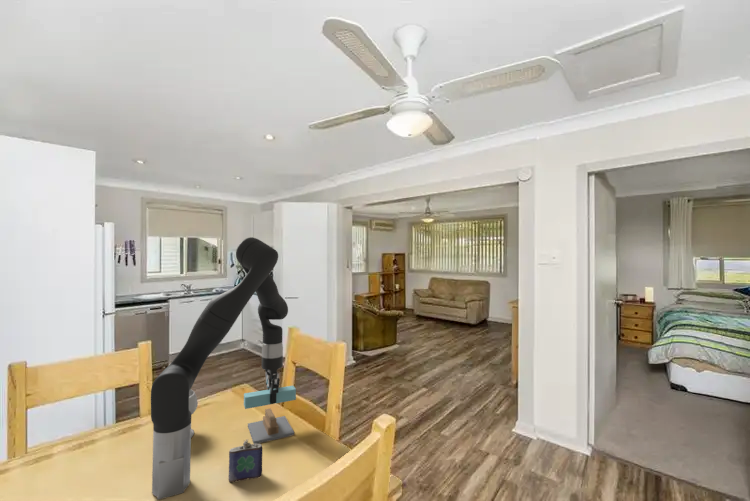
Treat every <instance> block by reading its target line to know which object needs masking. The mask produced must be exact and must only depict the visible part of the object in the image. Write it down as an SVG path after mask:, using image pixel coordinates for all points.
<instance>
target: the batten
mask: <svg viewBox="0 0 750 501" xmlns="http://www.w3.org/2000/svg"><path fill="white" fill-rule="evenodd" d="M273 390H275V388H274V389H273ZM296 400H297V389H296V387H295V386H294V385H287V386H280V387H279V390H278V393H276V403H274V404H276V405H277V404H280V403H286V402H287V403H288V402H290V401H296ZM274 404H273V405H274ZM268 405H271V404H270V389H269V390H268V389H264V390H258V391H252V392H244V393H243V407H244V409H245V410H248V409H252V408H258V407H263V406H268Z"/></svg>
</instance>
